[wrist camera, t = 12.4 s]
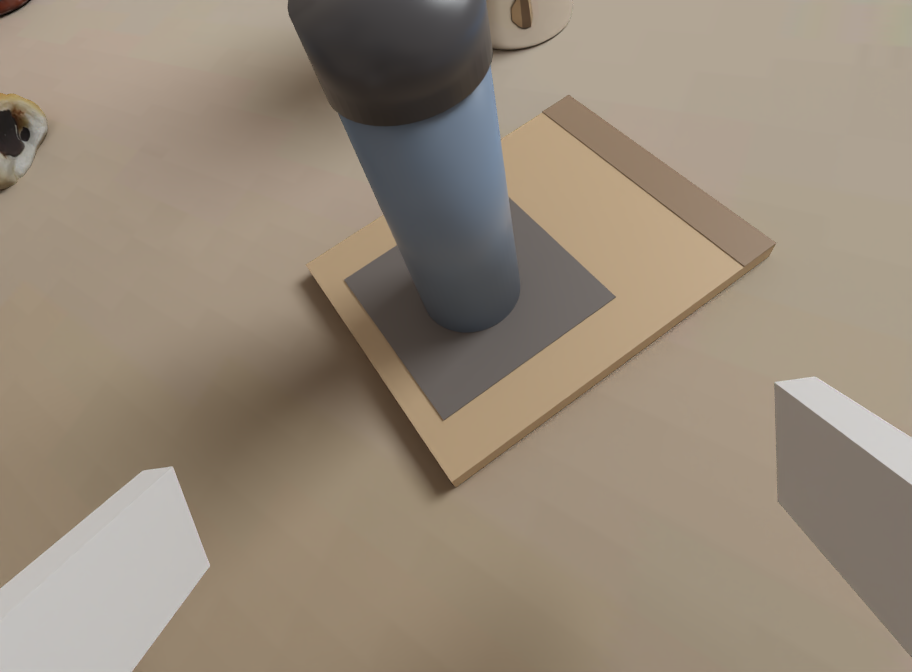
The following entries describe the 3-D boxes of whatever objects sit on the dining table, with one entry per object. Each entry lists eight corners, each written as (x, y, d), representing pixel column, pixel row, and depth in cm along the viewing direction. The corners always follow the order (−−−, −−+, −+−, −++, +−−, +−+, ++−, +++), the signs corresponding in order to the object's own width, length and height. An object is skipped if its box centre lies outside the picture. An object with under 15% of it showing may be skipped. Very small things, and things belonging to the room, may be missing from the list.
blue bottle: (401, 284, 22) (258, -10, 12) (482, 230, 23) (413, -96, 13) (457, 354, 20) (342, 72, 10) (544, 293, 21) (522, -34, 11)
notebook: (313, 274, 25) (305, 263, 24) (568, 109, 27) (568, 94, 26) (456, 487, 19) (450, 481, 18) (768, 256, 21) (776, 242, 20)
